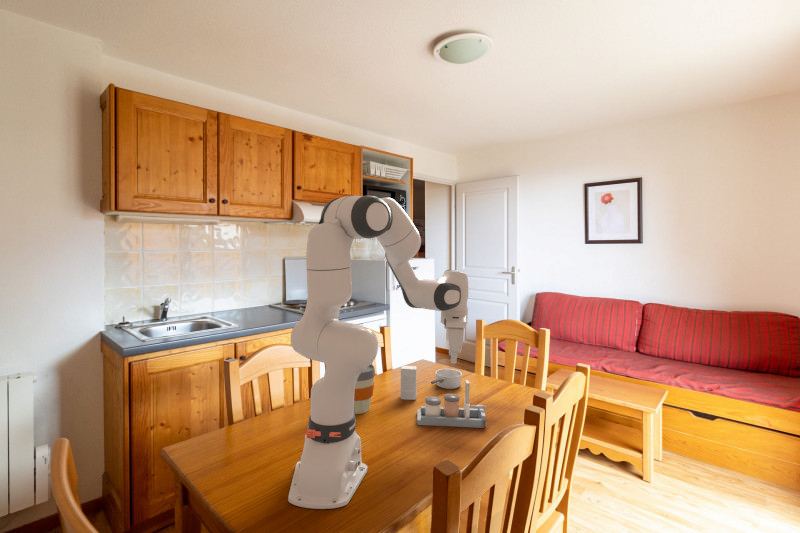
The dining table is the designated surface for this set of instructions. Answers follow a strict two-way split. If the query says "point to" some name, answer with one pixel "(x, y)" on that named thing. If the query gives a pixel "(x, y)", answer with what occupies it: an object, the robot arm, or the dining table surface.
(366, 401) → the reusable coffee cup
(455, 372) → the saucepan
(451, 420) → the blue-grey tray
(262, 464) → the dining table surface
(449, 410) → the pink spice shaker
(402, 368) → the skincare box
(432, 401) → the cream jar
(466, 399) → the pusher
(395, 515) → the dining table surface
